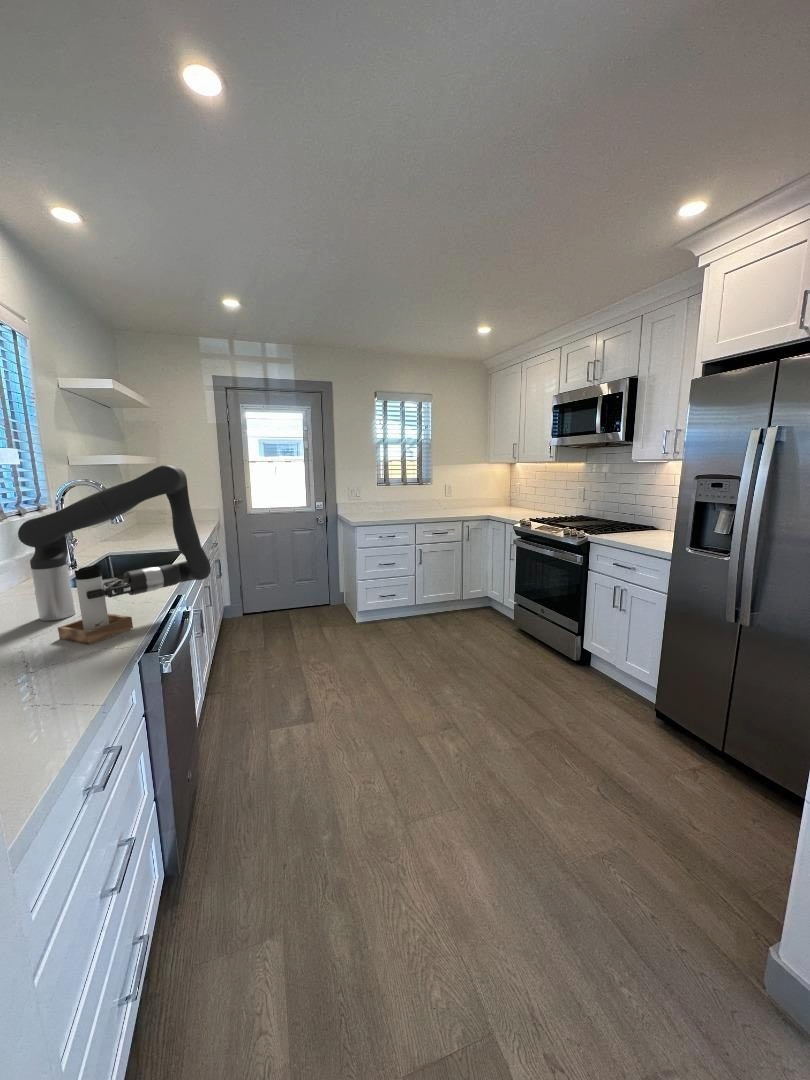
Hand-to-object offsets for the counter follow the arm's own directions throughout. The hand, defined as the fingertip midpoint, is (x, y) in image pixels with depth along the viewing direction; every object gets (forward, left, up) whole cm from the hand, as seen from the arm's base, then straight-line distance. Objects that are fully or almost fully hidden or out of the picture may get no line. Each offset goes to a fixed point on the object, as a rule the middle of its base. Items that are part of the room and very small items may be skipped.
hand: (82, 592), depth 128 cm
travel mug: (+1, +2, -13) cm, 13 cm away
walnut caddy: (+1, +2, -13) cm, 13 cm away
